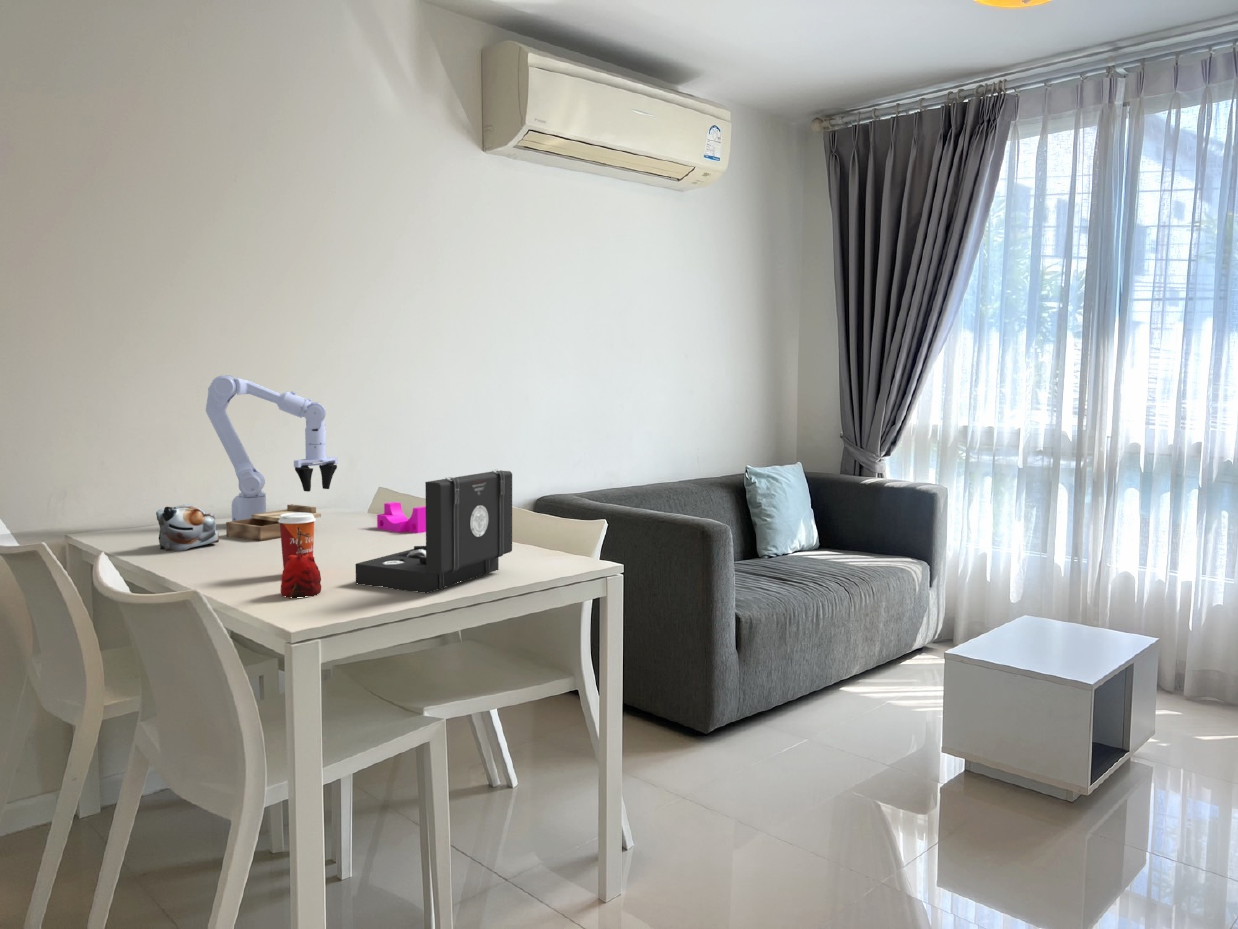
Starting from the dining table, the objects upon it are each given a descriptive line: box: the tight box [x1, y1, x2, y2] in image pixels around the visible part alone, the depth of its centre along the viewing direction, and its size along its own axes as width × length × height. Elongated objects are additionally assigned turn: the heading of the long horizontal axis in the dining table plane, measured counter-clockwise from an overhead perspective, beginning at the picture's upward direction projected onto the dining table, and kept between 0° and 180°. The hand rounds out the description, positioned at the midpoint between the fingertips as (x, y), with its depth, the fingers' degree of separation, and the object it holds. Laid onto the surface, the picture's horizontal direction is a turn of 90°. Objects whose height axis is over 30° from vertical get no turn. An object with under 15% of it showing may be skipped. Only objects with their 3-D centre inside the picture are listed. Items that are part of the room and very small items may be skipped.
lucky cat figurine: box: [155, 504, 220, 552], centre depth 228 cm, size 15×12×14 cm
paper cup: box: [278, 512, 317, 569], centre depth 197 cm, size 8×8×14 cm
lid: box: [251, 503, 322, 522], centre depth 254 cm, size 14×12×3 cm
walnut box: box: [225, 518, 281, 542], centre depth 247 cm, size 14×12×4 cm
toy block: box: [376, 501, 426, 534], centre depth 258 cm, size 15×6×8 cm, turn 51°
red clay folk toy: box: [280, 526, 322, 598], centre depth 179 cm, size 8×7×15 cm
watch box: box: [355, 468, 513, 594], centre depth 196 cm, size 26×28×24 cm
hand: (316, 490), depth 268 cm, fingers open, 6 cm apart
